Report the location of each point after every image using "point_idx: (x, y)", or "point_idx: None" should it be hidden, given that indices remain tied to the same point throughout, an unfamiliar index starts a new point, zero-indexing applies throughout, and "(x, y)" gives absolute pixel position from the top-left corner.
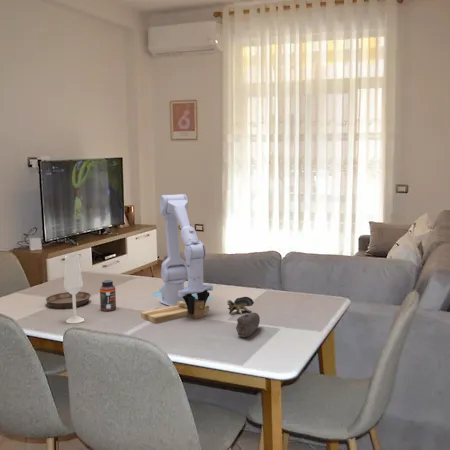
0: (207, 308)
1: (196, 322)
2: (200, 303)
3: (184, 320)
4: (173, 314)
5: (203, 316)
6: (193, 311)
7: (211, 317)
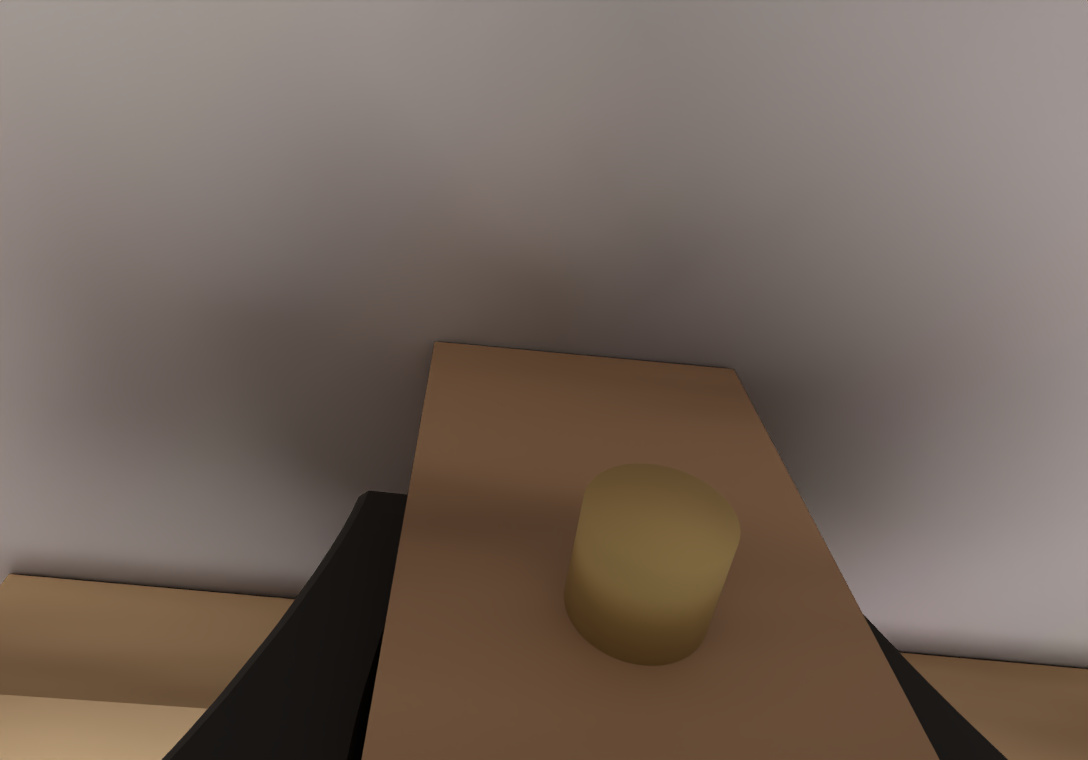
0: (23, 634)
1: (1005, 146)
2: (624, 735)
3: (957, 485)
4: (1039, 753)
5: (471, 352)
6: None
7: (325, 138)
